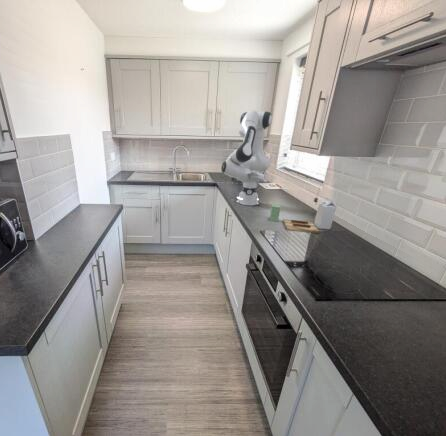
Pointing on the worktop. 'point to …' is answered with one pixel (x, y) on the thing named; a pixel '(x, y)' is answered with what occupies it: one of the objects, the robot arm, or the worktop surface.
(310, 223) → the base pad
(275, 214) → the back pad
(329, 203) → the milk carton
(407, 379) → the worktop surface
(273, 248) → the worktop surface
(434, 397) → the worktop surface
